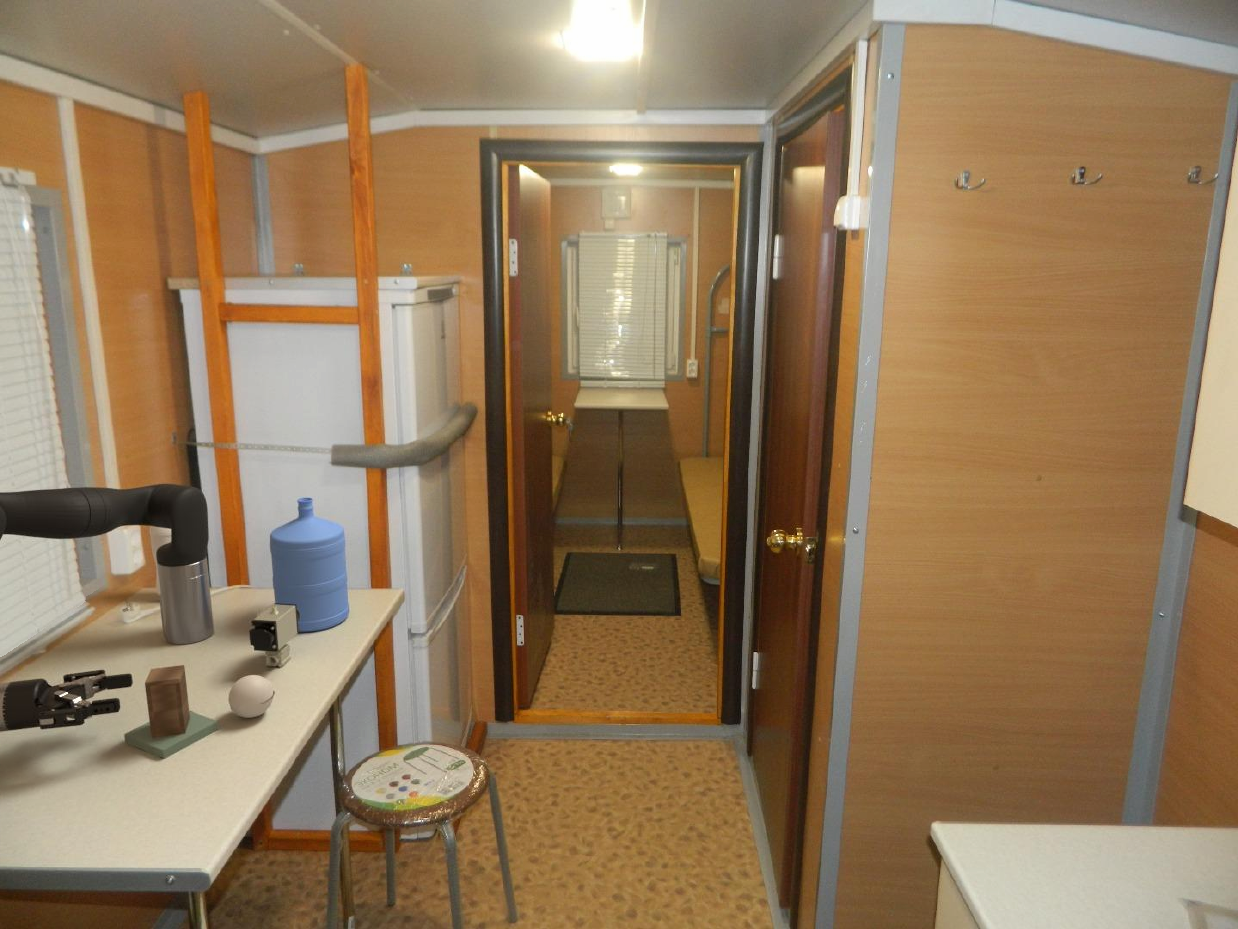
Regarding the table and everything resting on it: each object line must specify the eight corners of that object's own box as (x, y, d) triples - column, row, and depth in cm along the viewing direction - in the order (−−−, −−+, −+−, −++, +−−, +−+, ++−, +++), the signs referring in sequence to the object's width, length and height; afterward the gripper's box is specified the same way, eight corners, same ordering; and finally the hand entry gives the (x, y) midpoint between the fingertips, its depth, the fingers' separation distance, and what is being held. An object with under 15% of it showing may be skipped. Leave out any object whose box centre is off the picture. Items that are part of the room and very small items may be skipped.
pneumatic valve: (303, 650, 171) (299, 596, 168) (275, 677, 160) (270, 620, 157) (278, 649, 172) (273, 595, 169) (247, 675, 160) (242, 618, 157)
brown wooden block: (151, 738, 136) (144, 682, 134) (157, 722, 141) (151, 669, 138) (185, 733, 138) (179, 678, 135) (190, 718, 142) (184, 665, 140)
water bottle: (198, 593, 199) (187, 494, 193) (173, 604, 192) (161, 501, 187) (175, 589, 201) (163, 490, 196) (150, 600, 195) (137, 498, 189)
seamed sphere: (255, 729, 142) (251, 690, 140) (220, 721, 144) (216, 683, 142) (294, 701, 151) (291, 665, 149) (261, 694, 153) (258, 658, 152)
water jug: (335, 634, 179) (328, 510, 172) (263, 632, 179) (253, 508, 173) (358, 605, 194) (352, 491, 188) (292, 604, 194) (283, 489, 188)
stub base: (125, 742, 137) (119, 700, 136) (179, 714, 146) (175, 675, 144) (164, 758, 133) (159, 716, 131) (218, 729, 142) (214, 689, 140)
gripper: (-12, 707, 123) (112, 691, 128) (22, 664, 136) (133, 652, 141) (-4, 752, 125) (118, 735, 130) (28, 705, 138) (138, 692, 143)
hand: (125, 692), depth 135 cm, fingers open, 8 cm apart
